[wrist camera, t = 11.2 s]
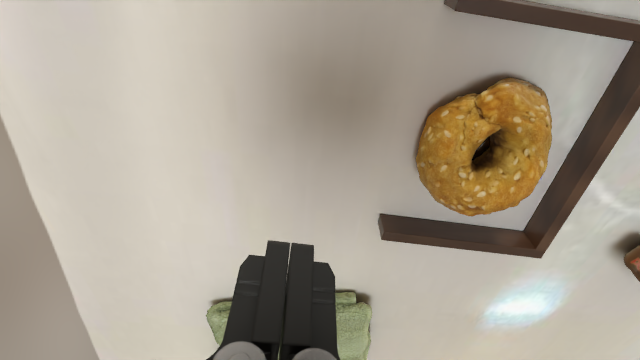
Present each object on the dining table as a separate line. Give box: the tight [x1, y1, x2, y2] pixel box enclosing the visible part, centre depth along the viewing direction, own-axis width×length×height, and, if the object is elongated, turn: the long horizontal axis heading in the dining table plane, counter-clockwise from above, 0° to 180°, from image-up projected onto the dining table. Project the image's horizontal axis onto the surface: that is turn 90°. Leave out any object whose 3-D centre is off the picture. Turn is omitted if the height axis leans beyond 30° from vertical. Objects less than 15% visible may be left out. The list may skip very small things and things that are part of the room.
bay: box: [378, 0, 640, 258], centre depth 30 cm, size 20×15×2 cm
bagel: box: [416, 78, 552, 216], centre depth 29 cm, size 10×11×5 cm
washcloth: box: [206, 292, 372, 360], centre depth 43 cm, size 13×18×3 cm
